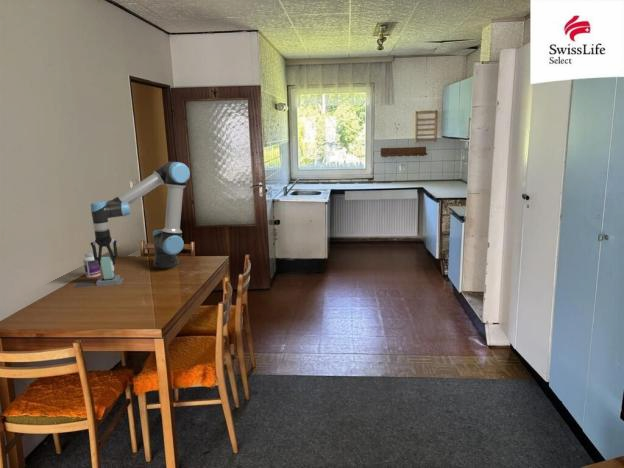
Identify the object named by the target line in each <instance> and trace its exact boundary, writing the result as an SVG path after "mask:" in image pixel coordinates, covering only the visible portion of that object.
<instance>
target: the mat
mask: <svg viewBox="0 0 624 468" xmlns="http://www.w3.org/2000/svg"><path fill="white" fill-rule="evenodd" d="M94 283H96V282H95V280H93V281H92V280H91V281H85V282H82V281H81V282H77V283H76V284H75V286H74V287H73V288H74V289H77V288H86V287H93V284H94Z"/></svg>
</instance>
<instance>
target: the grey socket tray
mask: <svg viewBox="0 0 624 468" xmlns="http://www.w3.org/2000/svg"><path fill="white" fill-rule="evenodd" d="M123 280H124V278H121V275H120V274H114V277H113V278H112V279H104V275H102V276H99V278H98V279H97V280H96V282H95V284H94V286H93V288H98V287H108V286H118V285H121V284H122V282H123Z"/></svg>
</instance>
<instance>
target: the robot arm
mask: <svg viewBox="0 0 624 468" xmlns="http://www.w3.org/2000/svg"><path fill="white" fill-rule="evenodd" d="M190 171H191V170H190V168H189V167H188V166H187V165H186V164H185V163H183V162H179V161H168V162H166V163H164V164H163V165H161V166H160V167H159V168H157V169H155V170H153V173H152V174H151V175H149V176H147V177H146V178H144V179H142V180H141V181H140V182H138V183H136V184H134V185H133V186H132V187H130V188H128V189H127V190H126V191H123V192H122V193H120V194H119V195H118V196H116V197H114V198H113V199H109V200H107V201H104V200H100V201H99V200H98V201H93V202H91V203H90V211H91V212H90V213H91V217H92V223H93V230H94V236H95V239H94V241H91V242H90V243H89V244H90V246H91V248H92V252H93V255H94V260H98V263H99V266H100V270H101V273H103V269H102V262H101V258H102V253H103V247H106V249H107V252H108V254H109V256H111V260H110V261H111V268H112V271H115V265H116V258H118V256H119V254H118V246H117V242H118V239H113V238H112V237H111V232H110V225H109V223H110V222H109V219H110V218H111V219H112V218H117V217H118V218H119V217H126V216H129V215H130V214H131V207H130V205H131V204H133V203H134V202H136V201H137V200H139V199H141V198H142V197H143V196H145V195H147V194H148V193H149V192H151V191H152V190H154V189H156V188H158V187H159V186H160V185H162V186H163V185H166V186H167V197H166V198H167V199H166V207H165V208H166V209H165V211H166V212H165V222H164V228H163V229H162V228H161V229H155V230H154V231H153V232H152V240H153V246H154V248H153V249H154V260H153V268H154V269H159V270H160V269H170V268H174V267H176V266H178V265H179V264H180V261H179V258H178V257H177V256H178V255H177V254H179V253H180V252H181V251H182V250H183V249H184V245H185V243H184V242H185V241H184V240H183V238H182V237H183V231H182V229H181V219H182V210H183V209H182V207H183V196H184V189H185V188H186V187H187V182H188V180H189V179H190V176H191V172H190ZM111 243H112V247H113V250H112V248H111ZM96 245H97V246H98V254H97V247H96ZM97 256H98V257H97Z"/></svg>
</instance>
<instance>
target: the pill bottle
mask: <svg viewBox="0 0 624 468" xmlns="http://www.w3.org/2000/svg"><path fill="white" fill-rule="evenodd" d="M97 257H98V255H97ZM82 261H83V266H84V272H85V273H84V274H85V277H86V278H96V277H100V276H101V274H102V271H101V266H99V263H98V260H94V255H93V251H87V252H85V253H84V258H83V259H82Z"/></svg>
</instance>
